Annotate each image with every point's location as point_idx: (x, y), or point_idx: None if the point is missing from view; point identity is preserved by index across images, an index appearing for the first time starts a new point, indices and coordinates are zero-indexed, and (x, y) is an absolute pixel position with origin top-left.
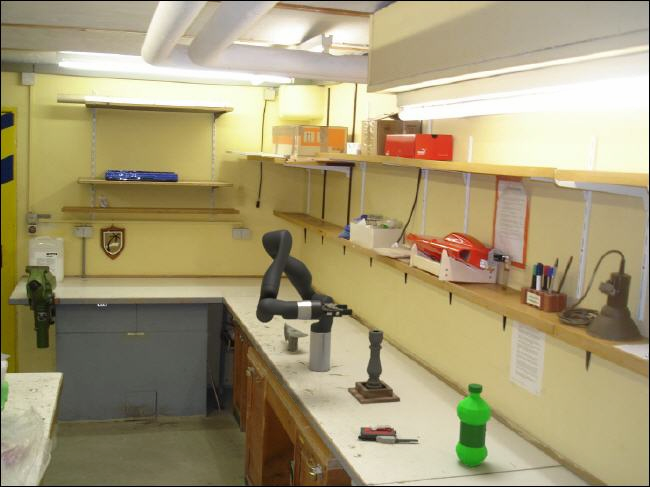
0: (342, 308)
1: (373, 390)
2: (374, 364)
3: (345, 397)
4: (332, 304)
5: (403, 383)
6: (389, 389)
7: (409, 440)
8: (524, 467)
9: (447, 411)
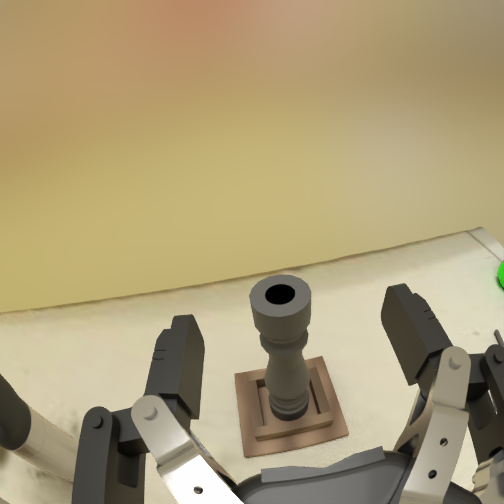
0: (195, 371)
1: (326, 400)
2: (305, 369)
3: None
4: (216, 474)
5: (209, 339)
6: (315, 366)
7: (501, 339)
8: (488, 251)
9: (362, 295)
